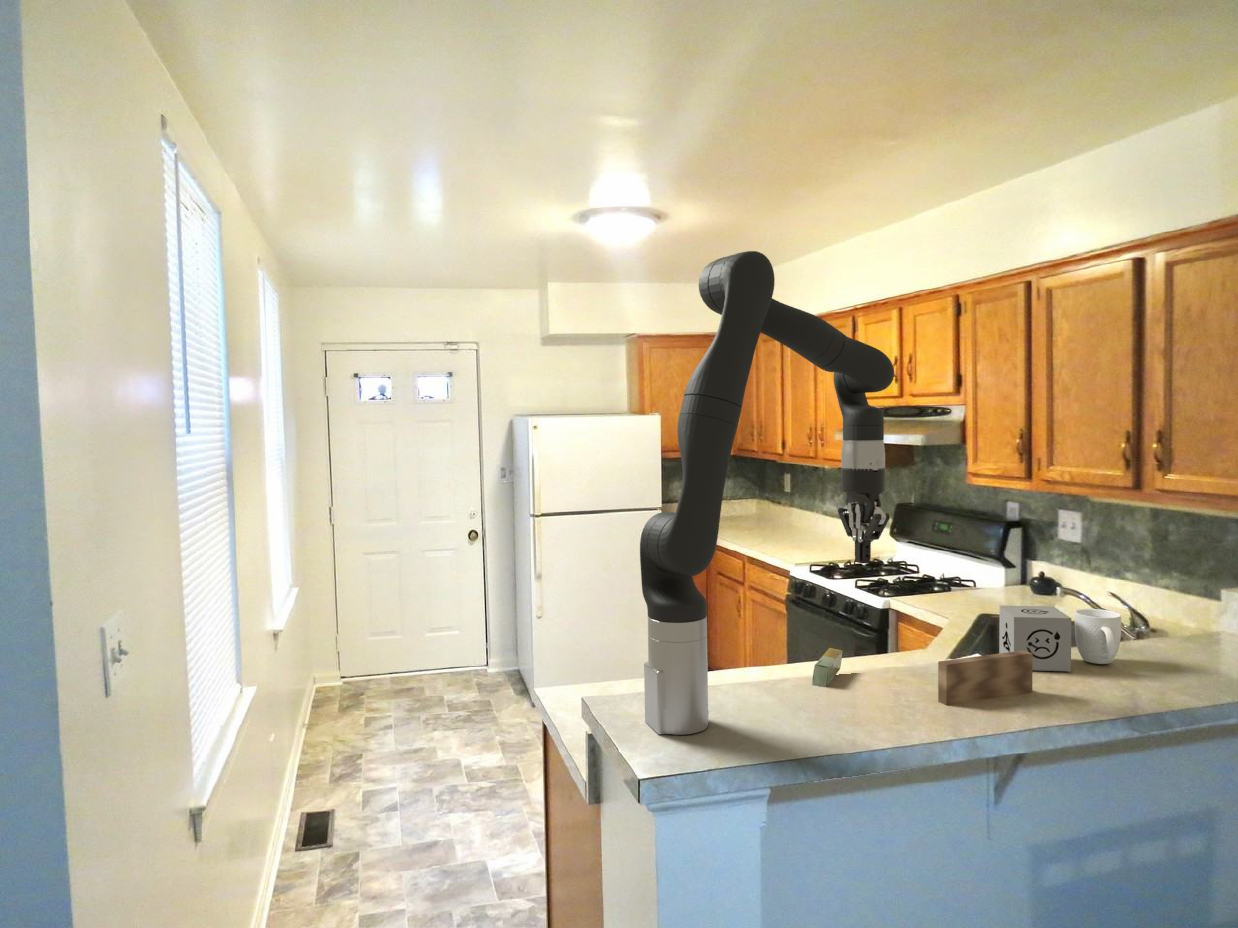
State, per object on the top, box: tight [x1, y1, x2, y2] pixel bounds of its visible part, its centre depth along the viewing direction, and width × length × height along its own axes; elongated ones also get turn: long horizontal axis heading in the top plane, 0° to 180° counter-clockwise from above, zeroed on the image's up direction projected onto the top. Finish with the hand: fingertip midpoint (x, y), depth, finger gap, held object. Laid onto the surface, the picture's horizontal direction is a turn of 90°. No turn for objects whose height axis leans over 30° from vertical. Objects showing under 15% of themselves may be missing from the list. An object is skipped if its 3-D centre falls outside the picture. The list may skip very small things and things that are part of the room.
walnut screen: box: [937, 650, 1033, 706], centre depth 144 cm, size 18×2×7 cm, turn 109°
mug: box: [1073, 608, 1122, 665], centre depth 162 cm, size 11×8×9 cm
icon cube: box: [998, 604, 1072, 672], centre depth 163 cm, size 10×10×10 cm
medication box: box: [811, 647, 843, 688], centre depth 156 cm, size 12×3×4 cm, turn 153°
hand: (862, 562), depth 151 cm, fingers closed
